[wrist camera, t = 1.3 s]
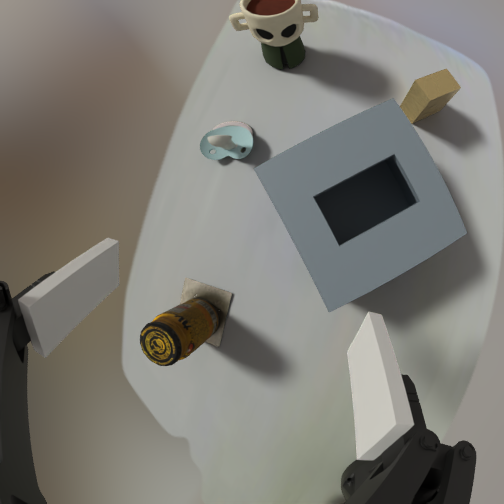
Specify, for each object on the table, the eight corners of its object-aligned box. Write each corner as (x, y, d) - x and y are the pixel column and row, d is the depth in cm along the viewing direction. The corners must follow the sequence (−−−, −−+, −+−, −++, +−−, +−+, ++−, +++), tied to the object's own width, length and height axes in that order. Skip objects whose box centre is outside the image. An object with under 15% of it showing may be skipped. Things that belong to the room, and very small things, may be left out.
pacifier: (208, 125, 38) (205, 163, 39) (191, 107, 32) (186, 150, 32) (257, 121, 37) (256, 160, 37) (246, 101, 31) (244, 146, 31)
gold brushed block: (440, 110, 30) (460, 87, 22) (411, 124, 31) (430, 100, 24) (428, 94, 30) (446, 68, 22) (399, 106, 32) (415, 80, 24)
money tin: (428, 233, 32) (467, 233, 21) (326, 289, 36) (328, 312, 25) (375, 133, 33) (393, 98, 22) (272, 187, 37) (253, 168, 26)
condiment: (176, 329, 41) (130, 358, 30) (185, 277, 40) (137, 292, 29) (219, 346, 40) (184, 384, 28) (232, 292, 39) (197, 316, 27)
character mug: (250, 77, 36) (223, 25, 24) (248, 44, 36) (223, -8, 23) (324, 70, 34) (322, 13, 21) (317, 37, 33) (311, -20, 21)
